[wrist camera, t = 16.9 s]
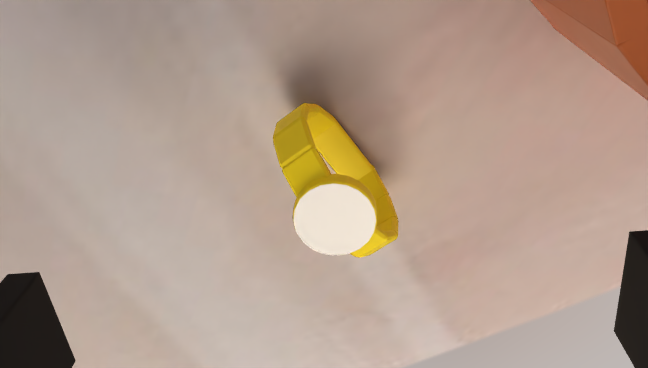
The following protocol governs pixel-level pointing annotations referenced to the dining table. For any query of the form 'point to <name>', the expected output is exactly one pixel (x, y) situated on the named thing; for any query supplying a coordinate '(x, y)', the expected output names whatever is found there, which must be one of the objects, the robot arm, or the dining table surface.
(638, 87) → the pot
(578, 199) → the dining table surface
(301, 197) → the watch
